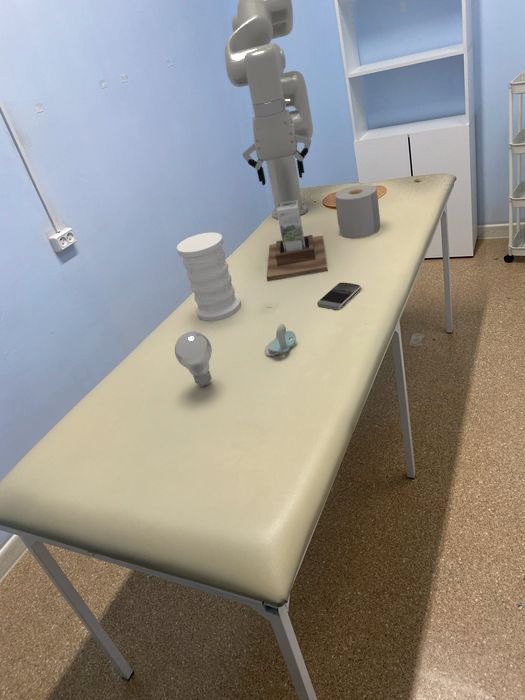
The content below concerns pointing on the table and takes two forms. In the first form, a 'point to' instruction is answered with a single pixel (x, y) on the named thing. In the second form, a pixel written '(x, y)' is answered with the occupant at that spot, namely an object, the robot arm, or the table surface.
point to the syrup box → (291, 226)
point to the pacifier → (280, 341)
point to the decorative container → (209, 276)
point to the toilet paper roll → (358, 211)
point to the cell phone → (338, 296)
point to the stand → (296, 259)
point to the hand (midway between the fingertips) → (282, 180)
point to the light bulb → (195, 356)
